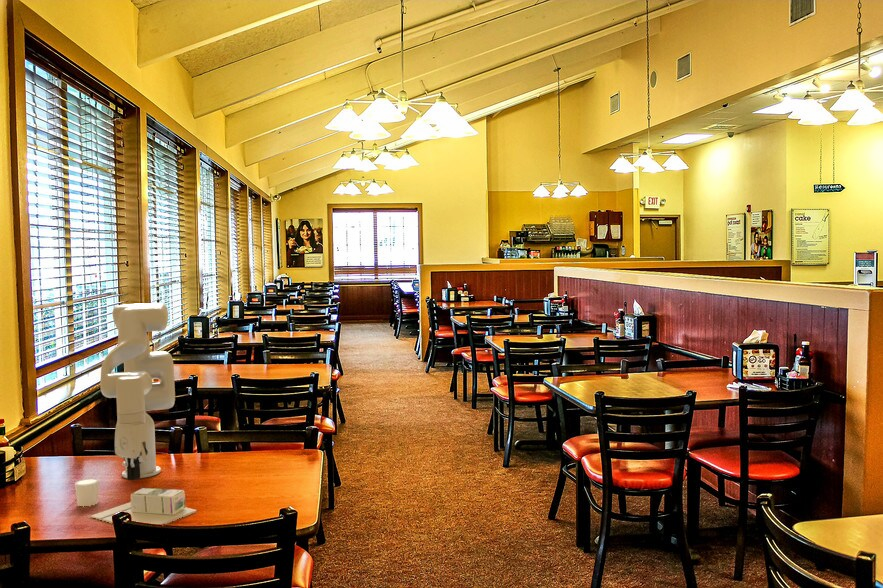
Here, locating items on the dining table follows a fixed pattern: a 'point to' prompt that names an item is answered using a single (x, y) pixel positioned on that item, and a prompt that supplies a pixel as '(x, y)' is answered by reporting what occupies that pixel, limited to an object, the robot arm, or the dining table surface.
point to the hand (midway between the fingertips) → (133, 479)
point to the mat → (143, 515)
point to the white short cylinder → (87, 492)
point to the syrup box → (157, 501)
